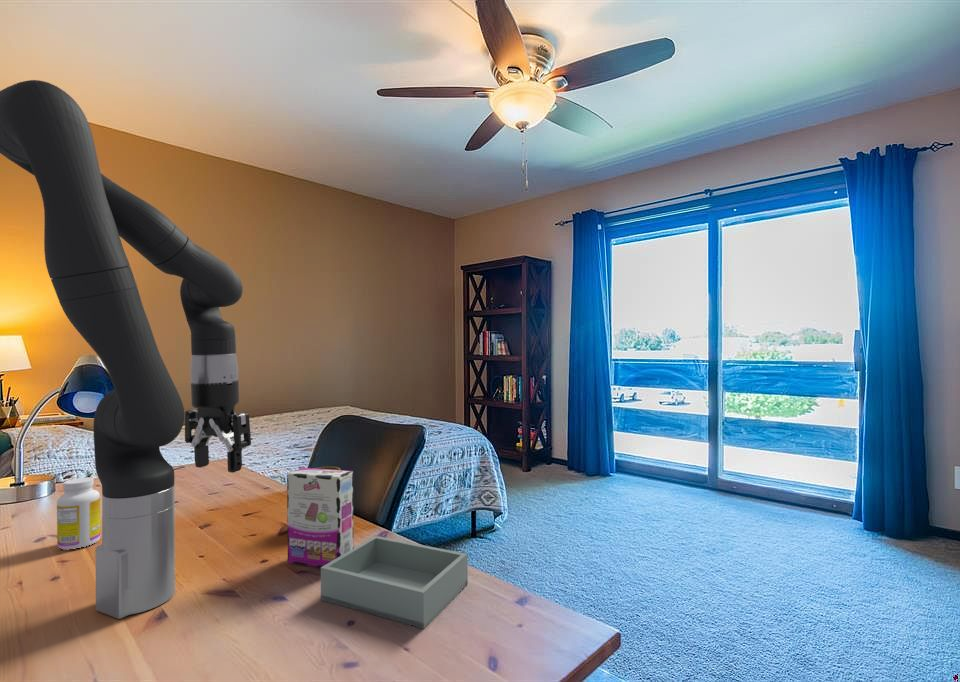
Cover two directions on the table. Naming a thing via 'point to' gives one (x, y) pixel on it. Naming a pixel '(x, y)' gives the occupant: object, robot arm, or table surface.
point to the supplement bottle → (78, 514)
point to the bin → (395, 580)
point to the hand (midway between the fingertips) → (218, 468)
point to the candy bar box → (319, 515)
